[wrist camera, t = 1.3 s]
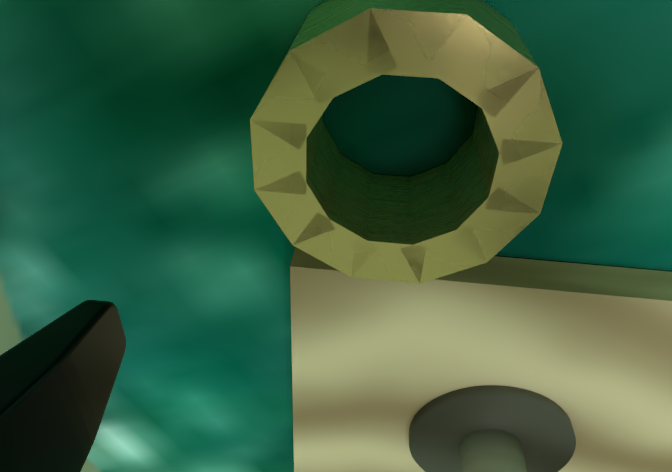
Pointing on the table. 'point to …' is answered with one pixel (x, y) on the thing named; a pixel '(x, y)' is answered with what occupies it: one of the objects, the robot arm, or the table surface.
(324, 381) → the stand
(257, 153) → the ring
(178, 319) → the table surface
